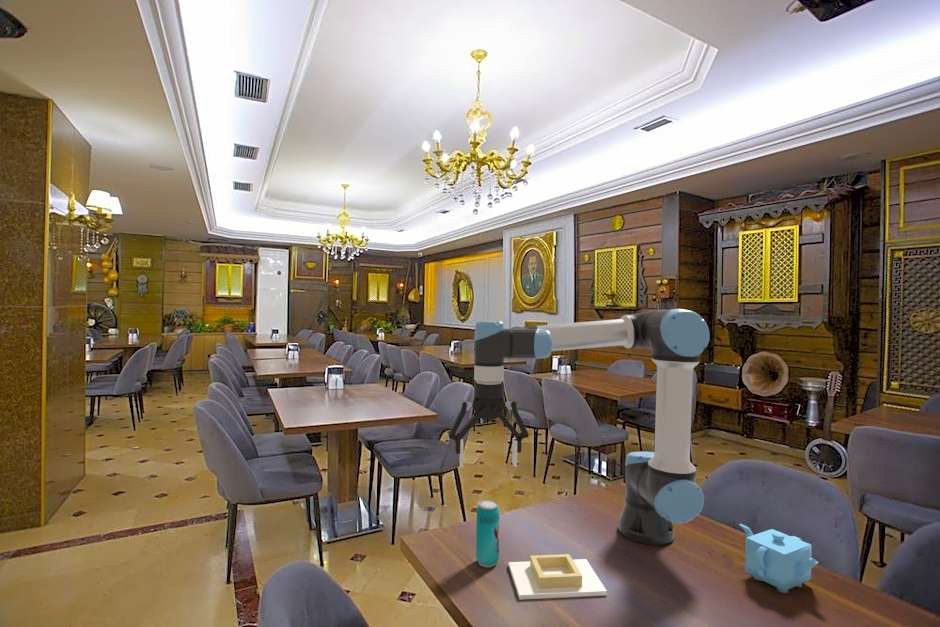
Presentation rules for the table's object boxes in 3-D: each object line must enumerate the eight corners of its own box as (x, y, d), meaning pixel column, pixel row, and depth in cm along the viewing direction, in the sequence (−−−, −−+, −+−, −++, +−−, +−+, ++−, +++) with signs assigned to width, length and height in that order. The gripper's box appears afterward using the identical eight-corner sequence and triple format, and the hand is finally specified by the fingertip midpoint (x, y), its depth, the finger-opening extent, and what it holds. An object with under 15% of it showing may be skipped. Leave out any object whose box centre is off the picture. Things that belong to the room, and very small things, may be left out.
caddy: (586, 562, 122) (586, 549, 122) (606, 595, 108) (607, 579, 108) (508, 566, 120) (508, 552, 120) (519, 599, 107) (519, 583, 107)
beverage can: (497, 570, 119) (497, 509, 119) (474, 567, 120) (474, 507, 120) (500, 558, 124) (500, 500, 124) (478, 556, 125) (479, 498, 125)
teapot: (796, 609, 104) (797, 557, 104) (719, 569, 120) (720, 524, 120) (835, 590, 111) (836, 542, 111) (758, 555, 127) (759, 512, 127)
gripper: (533, 379, 127) (533, 460, 127) (439, 380, 124) (438, 462, 124) (540, 383, 119) (540, 469, 119) (440, 384, 117) (439, 471, 117)
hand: (488, 465), depth 122 cm, fingers open, 13 cm apart
